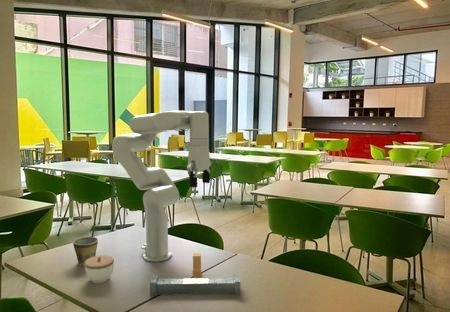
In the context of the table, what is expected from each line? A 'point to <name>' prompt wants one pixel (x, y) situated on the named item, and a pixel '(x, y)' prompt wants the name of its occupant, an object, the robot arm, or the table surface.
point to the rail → (195, 286)
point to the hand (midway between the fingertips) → (200, 184)
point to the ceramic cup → (85, 248)
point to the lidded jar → (99, 268)
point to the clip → (196, 265)
